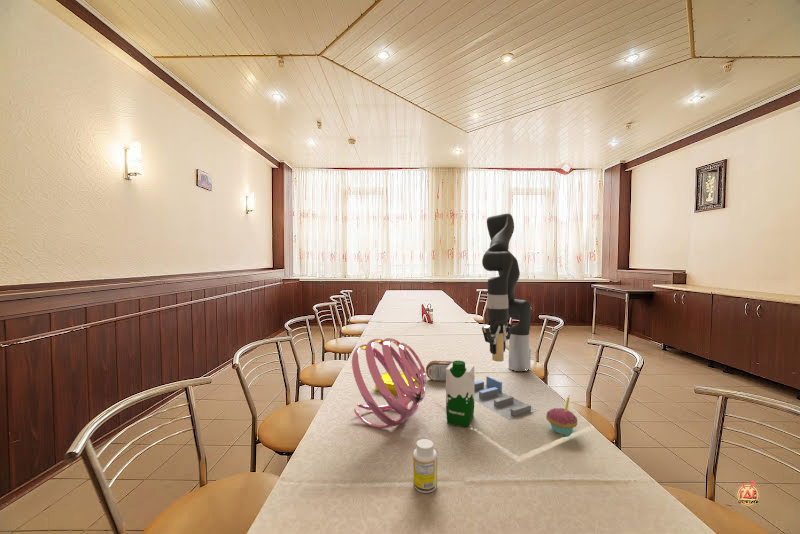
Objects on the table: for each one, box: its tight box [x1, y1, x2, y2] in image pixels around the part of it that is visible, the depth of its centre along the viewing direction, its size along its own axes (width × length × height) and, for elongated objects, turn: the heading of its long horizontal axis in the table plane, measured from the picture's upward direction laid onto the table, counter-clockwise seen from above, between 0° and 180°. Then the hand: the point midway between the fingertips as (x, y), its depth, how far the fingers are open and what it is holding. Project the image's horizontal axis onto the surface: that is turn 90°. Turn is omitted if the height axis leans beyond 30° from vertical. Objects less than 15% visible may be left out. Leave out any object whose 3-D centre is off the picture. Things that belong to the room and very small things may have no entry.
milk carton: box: [445, 360, 475, 429], centre depth 108 cm, size 9×9×20 cm
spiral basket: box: [351, 337, 427, 429], centre depth 109 cm, size 28×28×27 cm
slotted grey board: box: [474, 375, 539, 421], centre depth 121 cm, size 14×26×5 cm, turn 29°
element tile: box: [374, 370, 419, 396], centre depth 136 cm, size 15×15×5 cm
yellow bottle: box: [491, 333, 505, 362], centre depth 121 cm, size 4×4×12 cm
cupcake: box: [545, 394, 578, 438], centre depth 100 cm, size 9×8×12 cm
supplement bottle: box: [412, 438, 438, 494], centre depth 77 cm, size 6×6×10 cm
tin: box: [425, 360, 453, 382], centre depth 143 cm, size 15×3×8 cm, turn 84°
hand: (497, 352), depth 121 cm, fingers closed on yellow bottle, 4 cm apart
